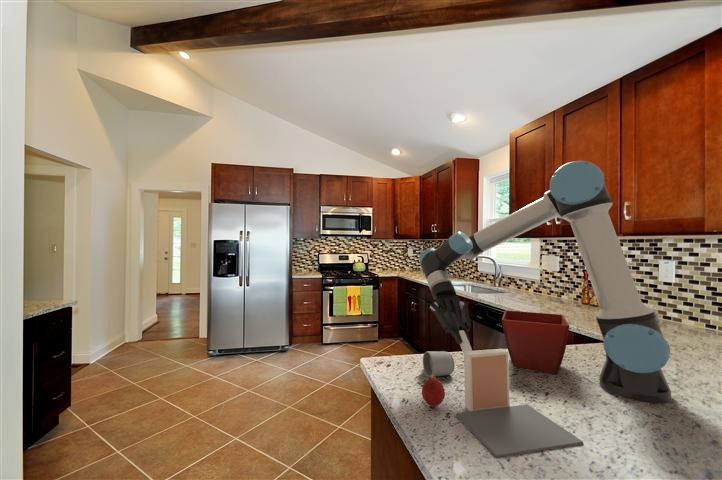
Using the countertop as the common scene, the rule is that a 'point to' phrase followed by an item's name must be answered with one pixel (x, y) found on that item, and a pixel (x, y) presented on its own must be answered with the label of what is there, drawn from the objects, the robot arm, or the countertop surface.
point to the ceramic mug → (438, 363)
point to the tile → (486, 379)
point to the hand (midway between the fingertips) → (468, 353)
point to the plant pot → (535, 340)
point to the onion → (433, 392)
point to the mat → (516, 430)
